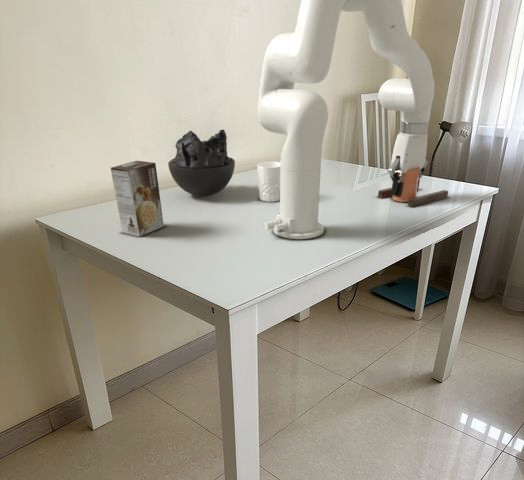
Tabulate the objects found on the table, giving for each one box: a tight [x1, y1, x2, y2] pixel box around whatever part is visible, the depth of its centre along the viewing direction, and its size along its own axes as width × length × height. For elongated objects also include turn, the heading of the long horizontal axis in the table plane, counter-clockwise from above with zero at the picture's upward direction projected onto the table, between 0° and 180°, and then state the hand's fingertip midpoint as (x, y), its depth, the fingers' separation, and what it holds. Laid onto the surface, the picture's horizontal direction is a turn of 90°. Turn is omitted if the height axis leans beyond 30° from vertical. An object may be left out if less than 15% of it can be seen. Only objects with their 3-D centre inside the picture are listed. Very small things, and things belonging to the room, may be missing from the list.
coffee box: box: [110, 160, 165, 237], centre depth 123 cm, size 9×6×16 cm
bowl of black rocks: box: [167, 129, 236, 197], centre depth 149 cm, size 20×20×19 cm
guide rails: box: [377, 187, 449, 208], centre depth 149 cm, size 16×13×2 cm
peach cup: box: [392, 167, 420, 203], centre depth 145 cm, size 7×7×9 cm
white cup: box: [256, 161, 280, 203], centre depth 147 cm, size 8×8×10 cm
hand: (404, 193), depth 147 cm, fingers closed on peach cup, 6 cm apart
